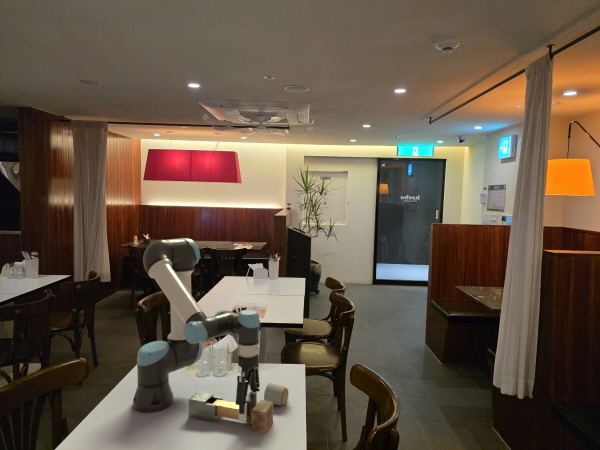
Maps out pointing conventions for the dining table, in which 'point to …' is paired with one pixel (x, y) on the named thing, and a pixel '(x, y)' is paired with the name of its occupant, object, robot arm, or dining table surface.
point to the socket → (262, 416)
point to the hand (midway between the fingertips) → (248, 414)
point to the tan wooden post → (235, 408)
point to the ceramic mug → (276, 394)
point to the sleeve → (203, 407)
